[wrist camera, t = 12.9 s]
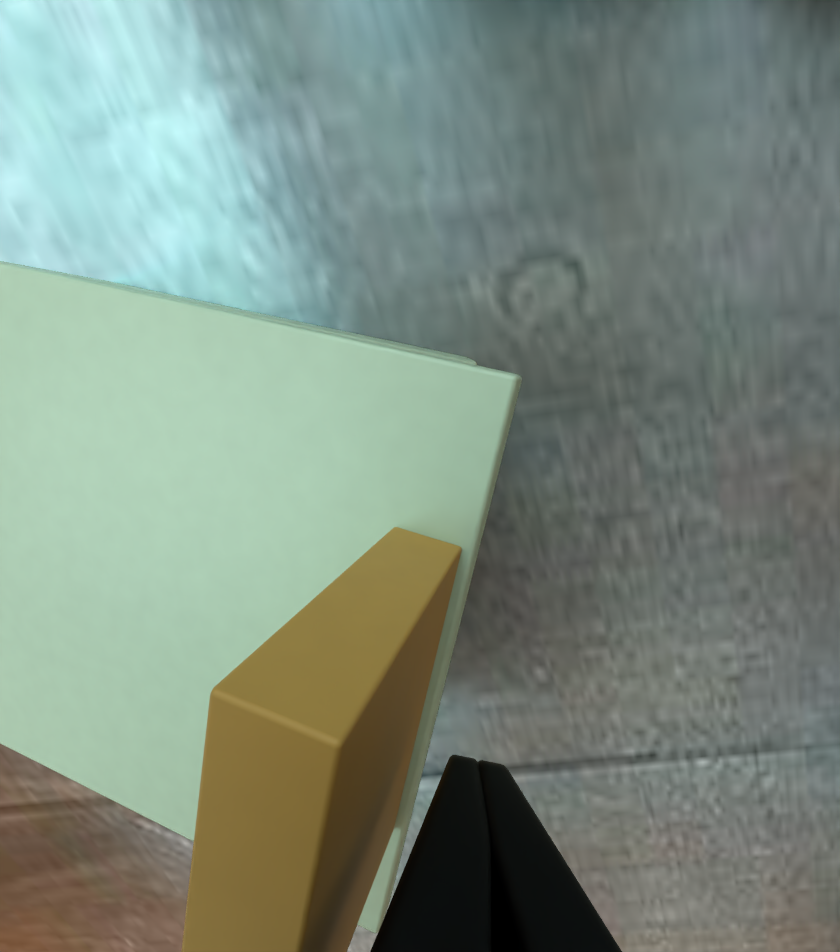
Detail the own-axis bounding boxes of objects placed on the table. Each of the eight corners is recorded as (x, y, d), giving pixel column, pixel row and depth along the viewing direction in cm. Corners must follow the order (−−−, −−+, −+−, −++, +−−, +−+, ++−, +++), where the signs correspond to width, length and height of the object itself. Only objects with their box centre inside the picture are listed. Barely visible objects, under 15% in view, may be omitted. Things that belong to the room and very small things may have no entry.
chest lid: (523, 374, 8) (446, 382, 3) (390, 898, 11) (239, 1343, 6) (-5, 260, 11) (-526, 159, 6) (2, 710, 14) (-333, 910, 9)
